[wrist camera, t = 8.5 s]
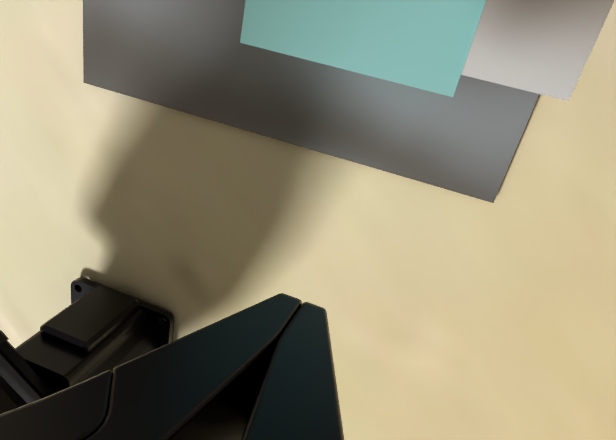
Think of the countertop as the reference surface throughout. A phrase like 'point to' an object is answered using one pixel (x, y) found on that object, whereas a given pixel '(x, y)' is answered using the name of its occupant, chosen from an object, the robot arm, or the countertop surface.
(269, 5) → the block
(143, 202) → the countertop surface
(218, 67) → the rail track
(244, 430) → the robot arm
